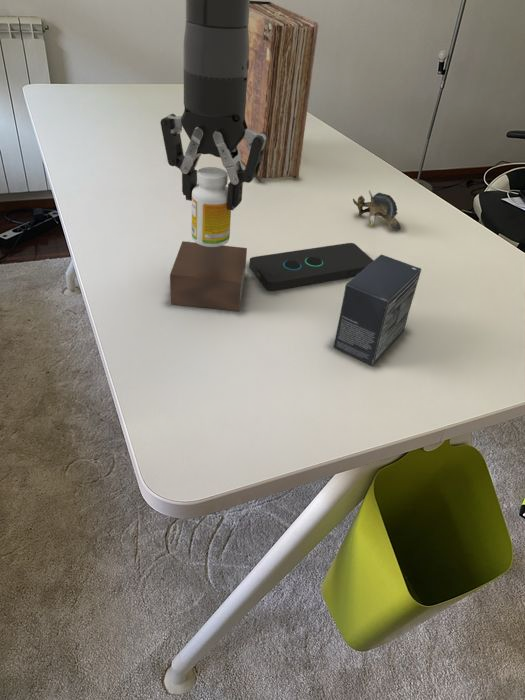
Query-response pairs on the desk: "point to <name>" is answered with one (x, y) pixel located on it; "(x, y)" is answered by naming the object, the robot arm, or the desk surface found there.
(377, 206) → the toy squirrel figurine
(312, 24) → the book
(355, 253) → the smart home device
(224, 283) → the walnut block
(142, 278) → the desk surface
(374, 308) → the small box
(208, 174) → the supplement bottle
